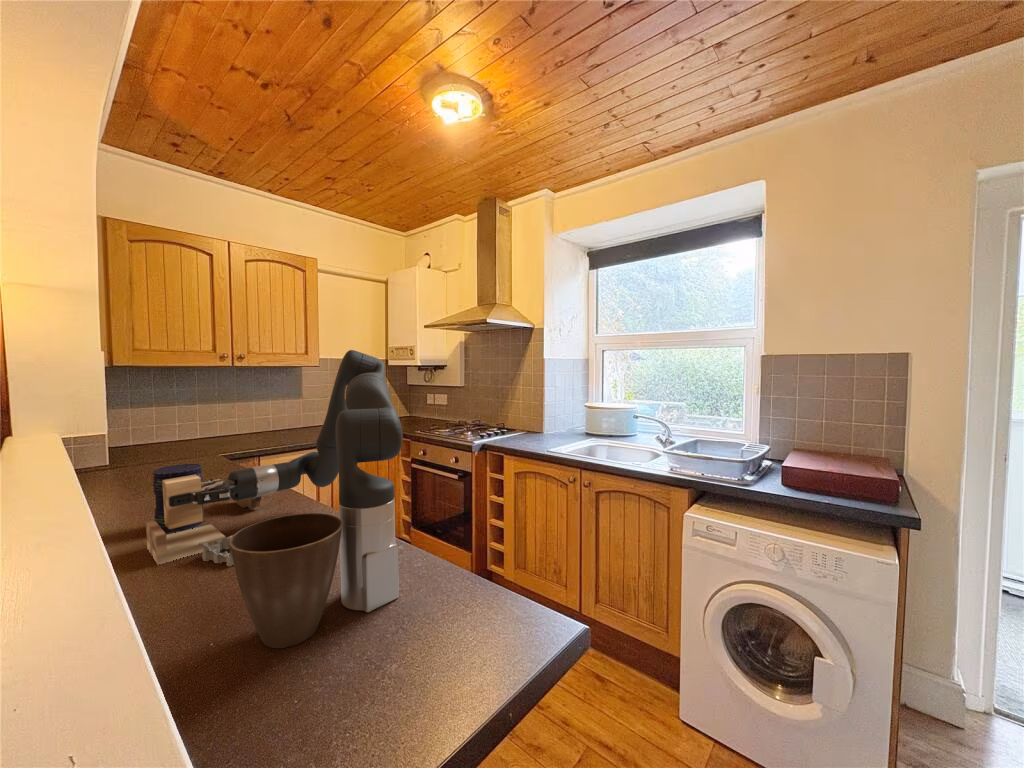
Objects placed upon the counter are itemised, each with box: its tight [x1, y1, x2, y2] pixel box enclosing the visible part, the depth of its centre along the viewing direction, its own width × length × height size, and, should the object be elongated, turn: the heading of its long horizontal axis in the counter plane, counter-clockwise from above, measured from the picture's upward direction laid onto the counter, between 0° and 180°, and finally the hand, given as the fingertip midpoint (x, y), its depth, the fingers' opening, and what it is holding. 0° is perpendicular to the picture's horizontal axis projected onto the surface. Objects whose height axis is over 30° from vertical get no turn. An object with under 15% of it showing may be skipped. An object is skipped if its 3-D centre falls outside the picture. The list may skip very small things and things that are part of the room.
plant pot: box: [230, 512, 342, 649], centre depth 63 cm, size 15×15×16 cm
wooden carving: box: [235, 496, 262, 510], centre depth 121 cm, size 16×5×10 cm, turn 58°
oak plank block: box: [162, 474, 204, 529], centre depth 93 cm, size 4×6×10 cm
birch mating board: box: [145, 519, 227, 566], centre depth 94 cm, size 12×12×6 cm
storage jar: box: [152, 463, 205, 534], centre depth 106 cm, size 10×10×15 cm
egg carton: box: [199, 534, 234, 567], centre depth 89 cm, size 11×8×4 cm
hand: (167, 499), depth 91 cm, fingers closed on oak plank block, 4 cm apart
